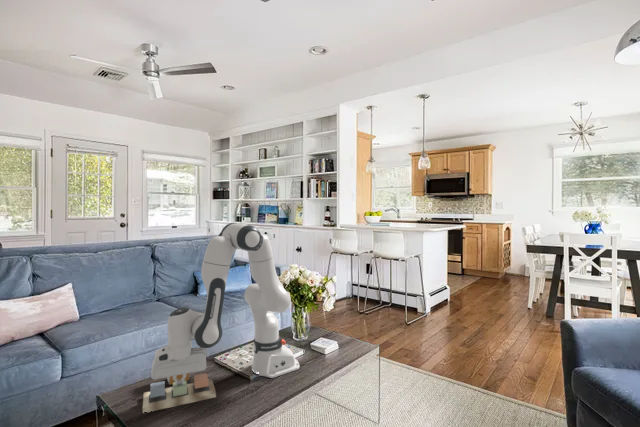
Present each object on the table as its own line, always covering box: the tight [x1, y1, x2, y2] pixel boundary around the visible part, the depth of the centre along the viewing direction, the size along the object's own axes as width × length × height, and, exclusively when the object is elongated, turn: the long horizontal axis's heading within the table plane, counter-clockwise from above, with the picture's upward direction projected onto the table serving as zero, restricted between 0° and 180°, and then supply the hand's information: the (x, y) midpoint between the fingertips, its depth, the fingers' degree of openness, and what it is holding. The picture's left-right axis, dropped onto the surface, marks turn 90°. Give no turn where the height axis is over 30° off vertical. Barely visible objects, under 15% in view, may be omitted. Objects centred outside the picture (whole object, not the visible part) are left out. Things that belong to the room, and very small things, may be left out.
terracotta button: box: [193, 372, 209, 389], centre depth 140 cm, size 5×5×3 cm
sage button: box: [172, 380, 188, 397], centre depth 137 cm, size 5×5×3 cm
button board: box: [142, 378, 217, 414], centre depth 137 cm, size 26×11×2 cm, turn 115°
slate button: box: [149, 380, 166, 398], centre depth 134 cm, size 5×5×3 cm
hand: (179, 384), depth 137 cm, fingers closed, pressing on sage button
